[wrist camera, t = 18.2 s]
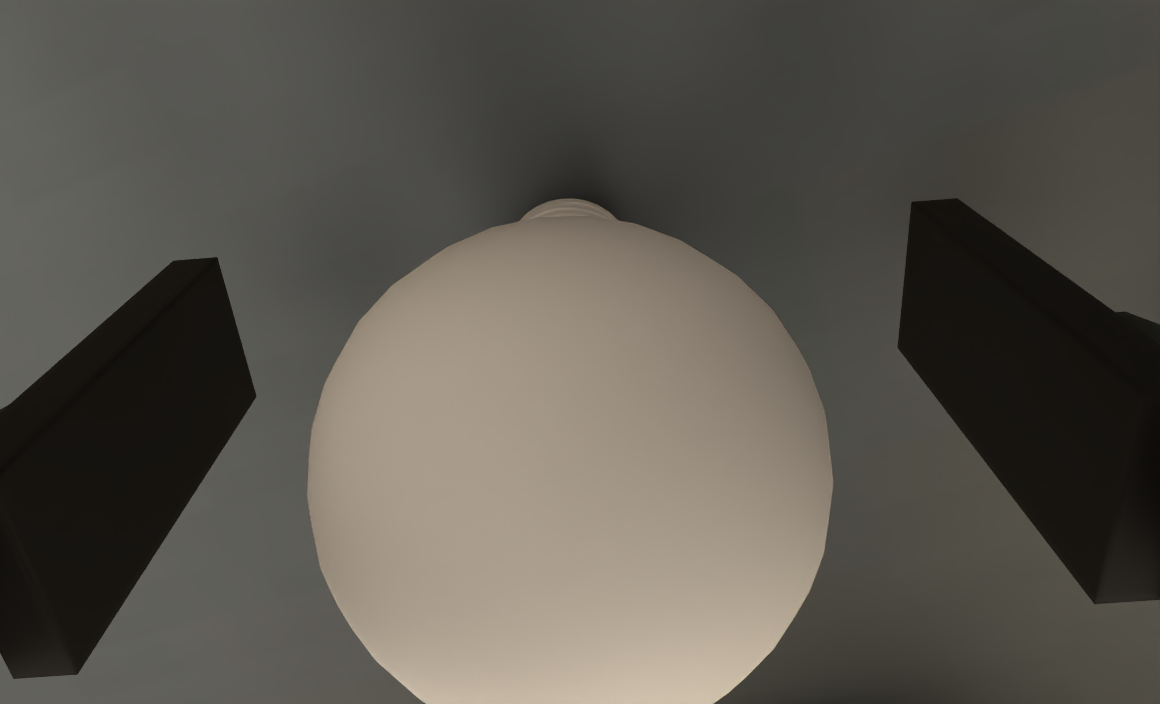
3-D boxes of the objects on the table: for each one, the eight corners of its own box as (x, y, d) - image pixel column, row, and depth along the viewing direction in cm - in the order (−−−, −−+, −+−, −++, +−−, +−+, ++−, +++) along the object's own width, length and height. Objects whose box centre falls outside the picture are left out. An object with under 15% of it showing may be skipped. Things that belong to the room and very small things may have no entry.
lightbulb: (665, 405, 19) (767, 913, 10) (392, 342, 19) (198, 824, 9) (763, 140, 17) (1044, 464, 7) (451, 52, 16) (266, 277, 6)
